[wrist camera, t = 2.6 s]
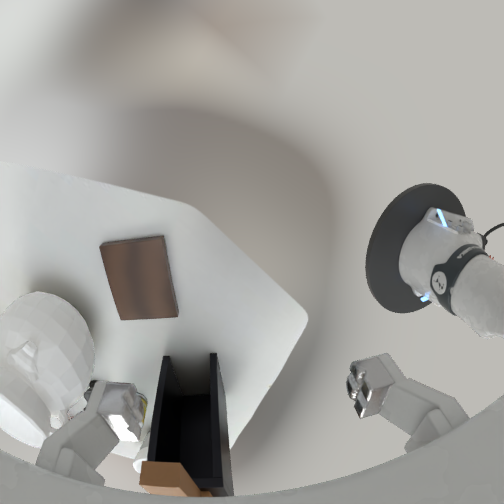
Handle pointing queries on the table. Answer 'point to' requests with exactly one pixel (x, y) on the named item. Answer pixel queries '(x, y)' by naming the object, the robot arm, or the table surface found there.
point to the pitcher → (41, 365)
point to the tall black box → (193, 430)
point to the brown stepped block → (168, 480)
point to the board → (140, 278)
